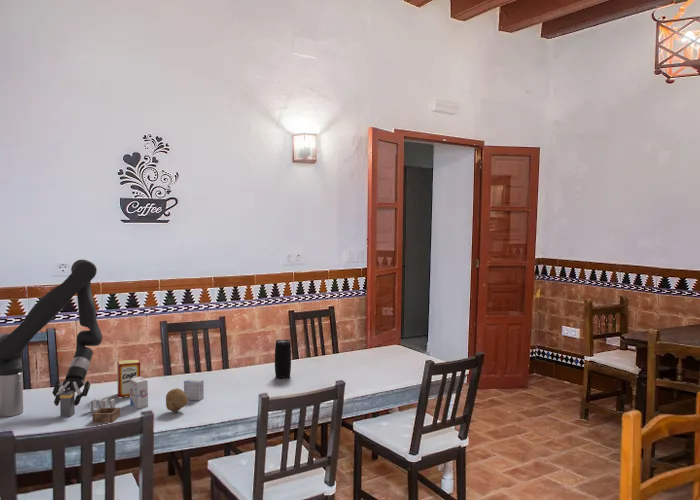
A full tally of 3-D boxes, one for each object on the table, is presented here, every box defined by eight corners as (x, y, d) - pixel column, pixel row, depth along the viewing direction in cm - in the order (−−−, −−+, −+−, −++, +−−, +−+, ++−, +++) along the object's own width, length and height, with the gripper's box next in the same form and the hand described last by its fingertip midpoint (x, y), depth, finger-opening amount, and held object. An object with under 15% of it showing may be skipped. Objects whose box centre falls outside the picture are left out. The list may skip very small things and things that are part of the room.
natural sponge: (190, 408, 240) (190, 385, 240) (184, 415, 231) (184, 391, 231) (169, 408, 240) (169, 385, 239) (162, 415, 231) (162, 391, 230)
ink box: (129, 404, 245) (129, 378, 244) (140, 402, 248) (140, 376, 248) (137, 408, 239) (137, 382, 238) (148, 406, 242) (148, 379, 242)
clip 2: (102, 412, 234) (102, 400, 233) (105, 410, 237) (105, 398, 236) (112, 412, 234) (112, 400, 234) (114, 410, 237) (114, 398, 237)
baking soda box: (138, 391, 264) (138, 358, 264) (140, 395, 258) (140, 361, 258) (117, 394, 260) (117, 360, 259) (118, 397, 254) (118, 363, 253)
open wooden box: (92, 422, 221) (92, 414, 221) (100, 416, 229) (100, 407, 229) (112, 422, 221) (112, 413, 221) (120, 416, 229) (120, 407, 229)
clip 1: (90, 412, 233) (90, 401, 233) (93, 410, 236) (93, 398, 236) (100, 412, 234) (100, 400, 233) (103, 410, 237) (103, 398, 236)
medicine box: (204, 398, 255) (204, 379, 254) (198, 401, 250) (198, 382, 250) (189, 396, 257) (188, 378, 256) (183, 399, 252) (183, 380, 252)
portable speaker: (290, 374, 297) (290, 338, 297) (291, 379, 288) (291, 342, 287) (274, 375, 296) (274, 339, 295) (275, 379, 287) (275, 342, 286)
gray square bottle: (60, 417, 227) (59, 389, 227) (64, 413, 232) (64, 386, 231) (70, 417, 228) (70, 389, 227) (75, 413, 232) (74, 386, 231)
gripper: (58, 365, 236) (44, 400, 225) (92, 365, 237) (80, 400, 225) (64, 374, 241) (51, 409, 230) (97, 374, 242) (86, 409, 231)
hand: (65, 404), depth 228 cm, fingers open, 7 cm apart
